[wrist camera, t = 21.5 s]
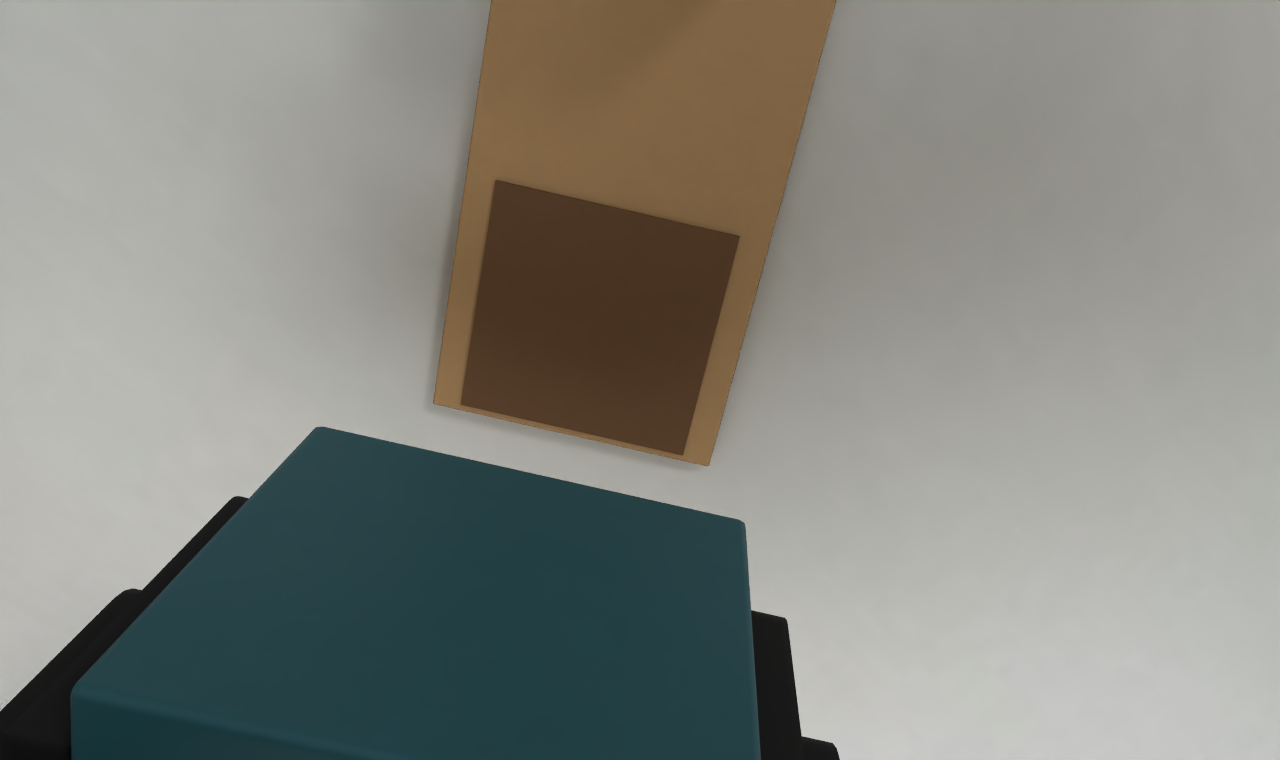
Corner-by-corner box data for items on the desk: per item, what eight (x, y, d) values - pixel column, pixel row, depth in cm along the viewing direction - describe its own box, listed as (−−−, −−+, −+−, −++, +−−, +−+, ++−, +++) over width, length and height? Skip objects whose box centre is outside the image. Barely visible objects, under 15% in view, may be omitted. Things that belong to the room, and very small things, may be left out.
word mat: (567, -500, 17) (563, -514, 17) (945, -410, 17) (952, -421, 17) (437, 397, 24) (431, 405, 23) (708, 459, 24) (708, 469, 23)
